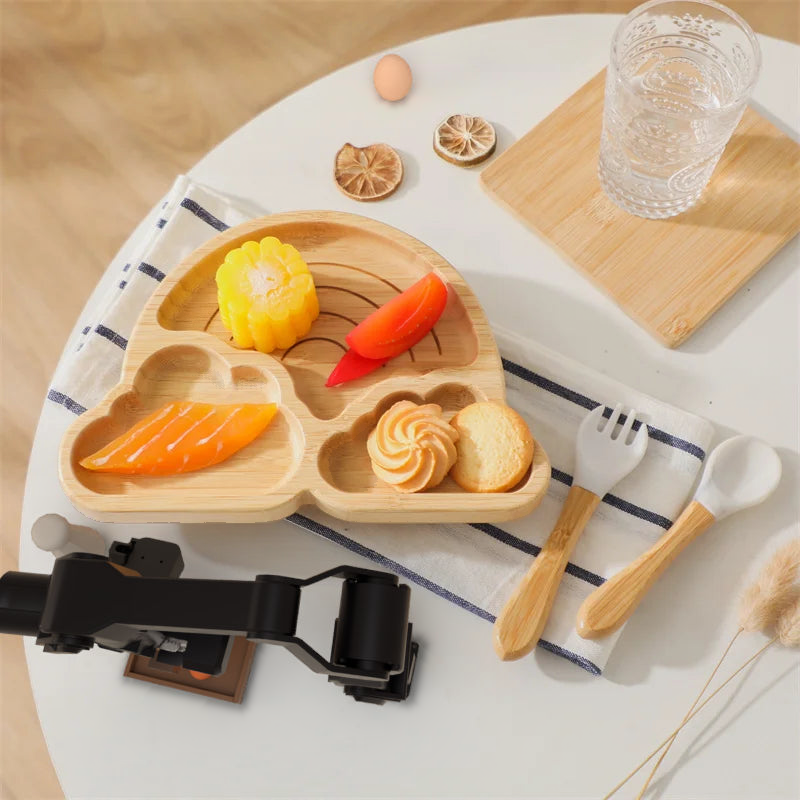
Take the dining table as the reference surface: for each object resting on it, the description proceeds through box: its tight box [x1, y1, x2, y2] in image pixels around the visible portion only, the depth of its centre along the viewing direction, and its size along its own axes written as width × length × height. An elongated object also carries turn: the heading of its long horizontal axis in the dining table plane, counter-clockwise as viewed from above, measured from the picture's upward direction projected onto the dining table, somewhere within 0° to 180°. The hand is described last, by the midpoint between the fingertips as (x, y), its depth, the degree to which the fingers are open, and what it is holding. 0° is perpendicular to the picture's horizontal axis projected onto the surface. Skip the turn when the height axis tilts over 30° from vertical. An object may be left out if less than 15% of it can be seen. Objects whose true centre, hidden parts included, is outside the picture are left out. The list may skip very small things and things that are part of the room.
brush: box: [147, 648, 180, 675], centre depth 101 cm, size 3×7×7 cm, turn 167°
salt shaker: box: [30, 513, 106, 559], centre depth 109 cm, size 6×6×13 cm
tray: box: [122, 635, 259, 705], centre depth 109 cm, size 14×10×2 cm
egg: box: [372, 53, 413, 102], centre depth 135 cm, size 6×6×8 cm
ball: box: [190, 670, 211, 680], centre depth 107 cm, size 3×3×3 cm
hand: (166, 636), depth 101 cm, fingers closed on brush, 2 cm apart
